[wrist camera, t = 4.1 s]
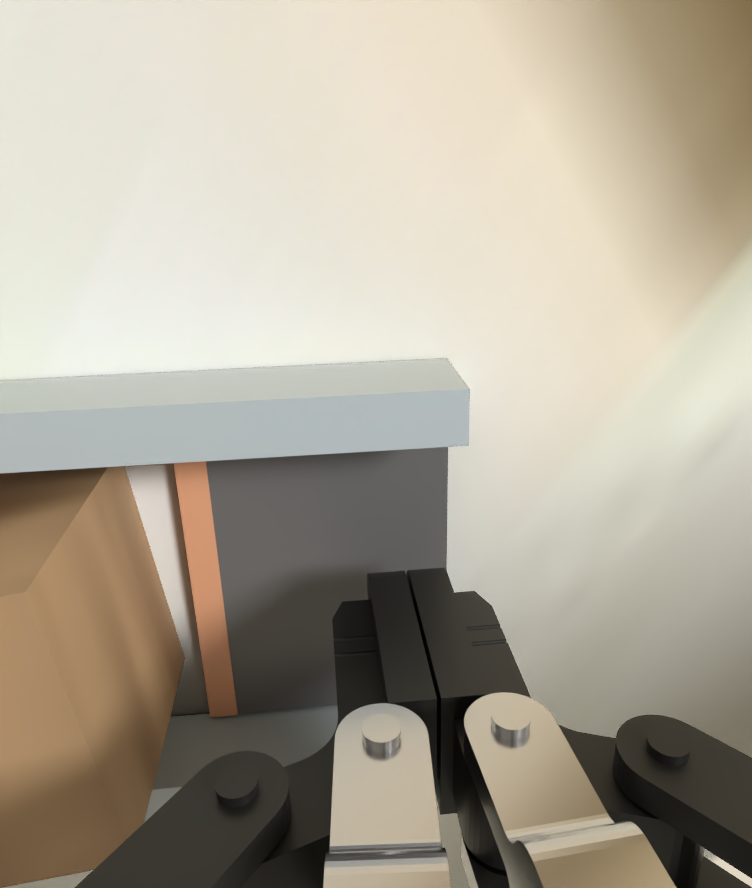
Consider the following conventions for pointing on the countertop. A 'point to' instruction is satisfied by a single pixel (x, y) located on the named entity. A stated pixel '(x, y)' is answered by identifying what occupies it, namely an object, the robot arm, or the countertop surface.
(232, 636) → the guide channel
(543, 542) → the countertop surface
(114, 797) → the walnut block
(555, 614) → the countertop surface
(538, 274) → the countertop surface
